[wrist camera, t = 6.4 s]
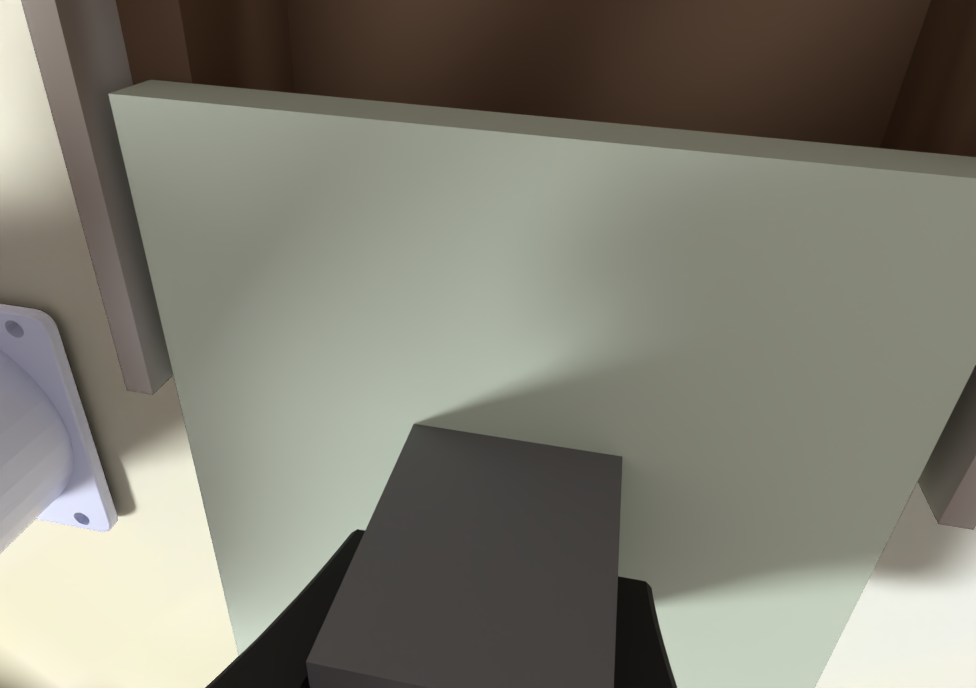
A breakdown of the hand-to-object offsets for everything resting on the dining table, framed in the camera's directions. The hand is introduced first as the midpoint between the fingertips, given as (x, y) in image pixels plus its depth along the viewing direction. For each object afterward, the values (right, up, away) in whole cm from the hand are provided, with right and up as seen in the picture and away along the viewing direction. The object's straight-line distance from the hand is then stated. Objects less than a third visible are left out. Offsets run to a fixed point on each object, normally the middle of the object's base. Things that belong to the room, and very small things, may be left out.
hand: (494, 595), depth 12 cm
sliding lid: (0, +1, +2) cm, 2 cm away
